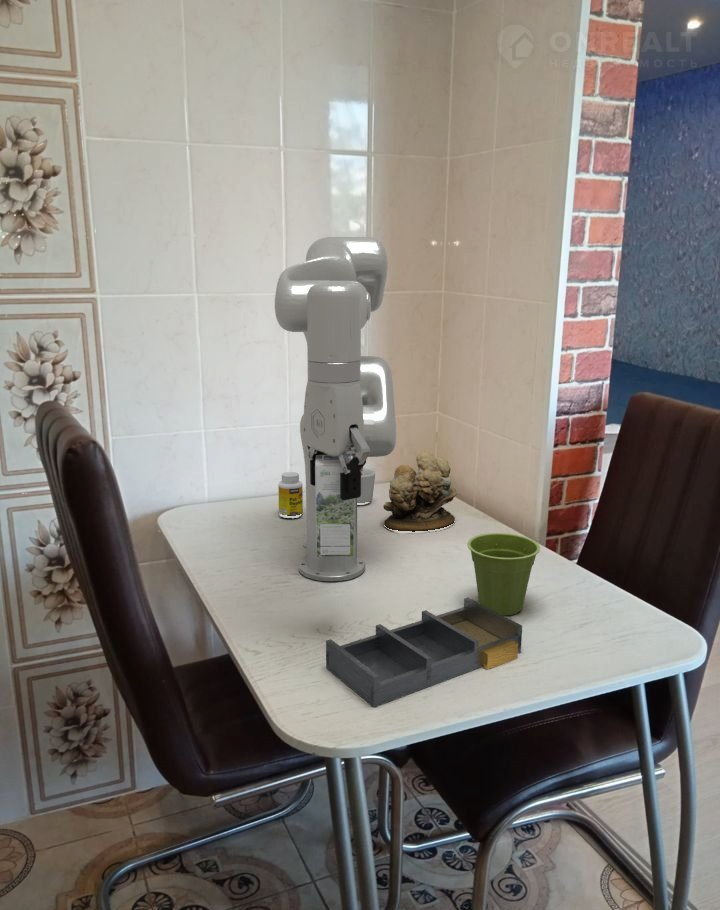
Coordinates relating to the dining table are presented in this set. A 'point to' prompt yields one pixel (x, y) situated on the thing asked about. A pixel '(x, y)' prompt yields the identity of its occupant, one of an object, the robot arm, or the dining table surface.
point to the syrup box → (332, 510)
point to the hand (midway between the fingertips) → (335, 490)
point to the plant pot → (502, 569)
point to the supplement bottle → (290, 494)
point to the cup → (366, 485)
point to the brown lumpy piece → (420, 496)
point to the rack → (424, 652)
